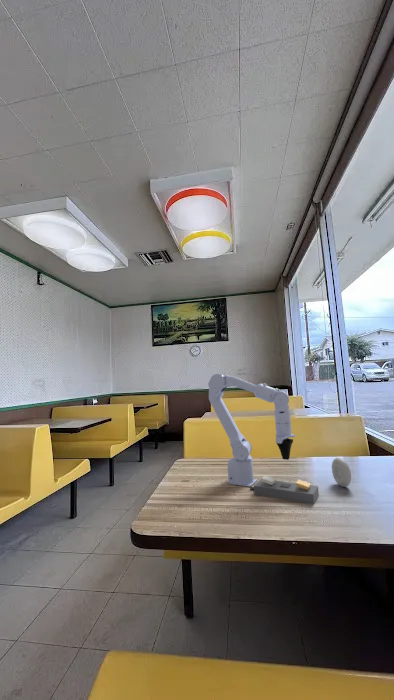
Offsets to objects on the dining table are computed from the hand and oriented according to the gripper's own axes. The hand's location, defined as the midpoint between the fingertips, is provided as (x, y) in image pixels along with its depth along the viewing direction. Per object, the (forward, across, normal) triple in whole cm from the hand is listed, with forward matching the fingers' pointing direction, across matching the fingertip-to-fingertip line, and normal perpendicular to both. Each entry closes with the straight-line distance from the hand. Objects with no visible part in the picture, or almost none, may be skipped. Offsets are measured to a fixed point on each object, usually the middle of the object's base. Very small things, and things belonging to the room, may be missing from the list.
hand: (286, 459), depth 114 cm
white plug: (+6, -10, +4) cm, 12 cm away
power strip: (+9, -10, -1) cm, 14 cm away
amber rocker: (+6, -10, -8) cm, 14 cm away
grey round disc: (+10, +6, -18) cm, 21 cm away
